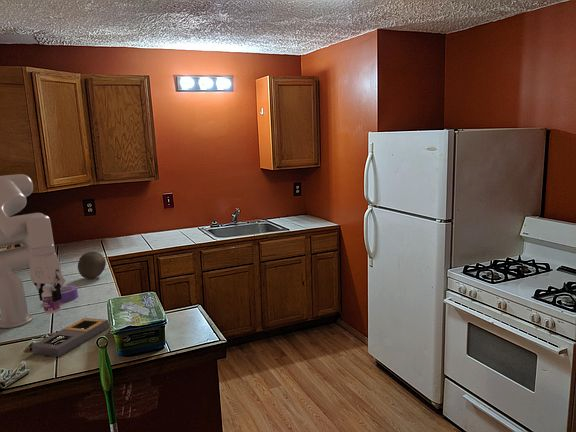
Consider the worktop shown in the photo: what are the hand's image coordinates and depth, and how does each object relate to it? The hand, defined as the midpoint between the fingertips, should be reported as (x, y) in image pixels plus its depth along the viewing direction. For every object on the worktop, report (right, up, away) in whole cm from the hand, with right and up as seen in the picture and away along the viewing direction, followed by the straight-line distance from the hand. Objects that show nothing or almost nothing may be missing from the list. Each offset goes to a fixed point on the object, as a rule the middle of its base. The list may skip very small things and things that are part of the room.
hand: (50, 299), depth 158 cm
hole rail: (+4, -17, +9) cm, 19 cm away
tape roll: (-24, -11, +57) cm, 63 cm away
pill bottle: (0, -5, +1) cm, 5 cm away
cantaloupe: (-24, -5, +90) cm, 93 cm away
